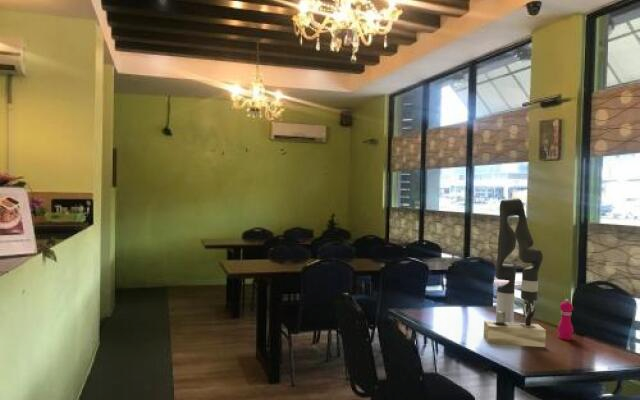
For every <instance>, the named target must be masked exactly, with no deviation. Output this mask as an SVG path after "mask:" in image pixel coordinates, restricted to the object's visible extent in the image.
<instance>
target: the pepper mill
mask: <svg viewBox="0 0 640 400" xmlns="http://www.w3.org/2000/svg"><path fill="white" fill-rule="evenodd" d="M559 308H560V310H561V311H560V315H561V319H560V321H559V323H558V326H557V331H558V332H559V333H558V338H559V339H561V340H569V341H570V340H573V335H572V334H573V333H574V326H573V324H572V322H571V321H572V319H571V316H572V315H573V314H572V313H573V312H572V311H573V310H574V306H573V304H572V303H571V302H570V301H569V299H568V298H565V299H564V301H562V302H561V303H560V305H559Z"/></svg>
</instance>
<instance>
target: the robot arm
mask: <svg viewBox="0 0 640 400" xmlns="http://www.w3.org/2000/svg"><path fill="white" fill-rule="evenodd" d="M525 211H526V210H525V207H524V203H523V202H522V200H521V199H520V198H519V197H518V198H515V197H514V198H507V199H502V200H501V201H500V203H499V228H498V229H499V230H498V238H497V239H498V240H497V255H496V257H497V258H496V264H495V268H494V269H495V270H494V271H495V272H494V273H495V274H494V275H495V279H497V280H498V281H499V280H500V281H508V282H507V283H504V284H502V285H499V286H497V289H496V292H497V293H496V311H495V312H497V311H502V312H505V322H512V323H514V315H515V314H514V313H515V312H514V311H515V310H514V309H515V287H516V286H515V285H516V275H517V268H516V265H515V264H512V263H504V262H505V260H506V259H507V257H509V256H510V255H511V254H512V253H513V251H514V250H515V249H516V246H517V245H516V244H518V258H519V260H520V261H521V262H522V263H523V264H530V266H528V267H524V268H523V269H522V274H521V275H522V276H521V286H520V298H521V300H524V302H523V303H522V309H523V315H524V317H525V321H524V323H525V324H526V325H527V326H530V325H531V324H532V318H534V315H535V311H536V308H535V304H534V301H535V302H536V301H538V298H539V297H538V295H539V282H538V281H539V271H540V268H541V264H542V262H543V260H544V259H543V258H544V256H543V253H542V250H541V249H539V248H532V247H533V246H534V240H533V237H532V235H531V232H530V229H529V226H528V221H527V215H526V212H525ZM508 217H518V222H517V224H516V227H515V231H514V229H513V228H512V227H511V225H510V223H509V221H508Z"/></svg>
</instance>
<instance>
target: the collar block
mask: <svg viewBox="0 0 640 400" xmlns="http://www.w3.org/2000/svg"><path fill="white" fill-rule="evenodd" d="M524 324H525V322H513V323H512V322H505V325H496V320H495V321H494V320H483V338H484V339H485V340H486V342H487V344H498V345H500V344H501V345H508V346H524V347H539V348H546V333H547V329H545V328H544V327H542V326H541V325H539V323H531V325H532V327H524Z"/></svg>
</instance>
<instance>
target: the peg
mask: <svg viewBox="0 0 640 400" xmlns="http://www.w3.org/2000/svg"><path fill="white" fill-rule="evenodd" d="M495 312H496V311H495ZM495 321H496V325H505V312H502V311H497V312H496V315H495Z"/></svg>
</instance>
